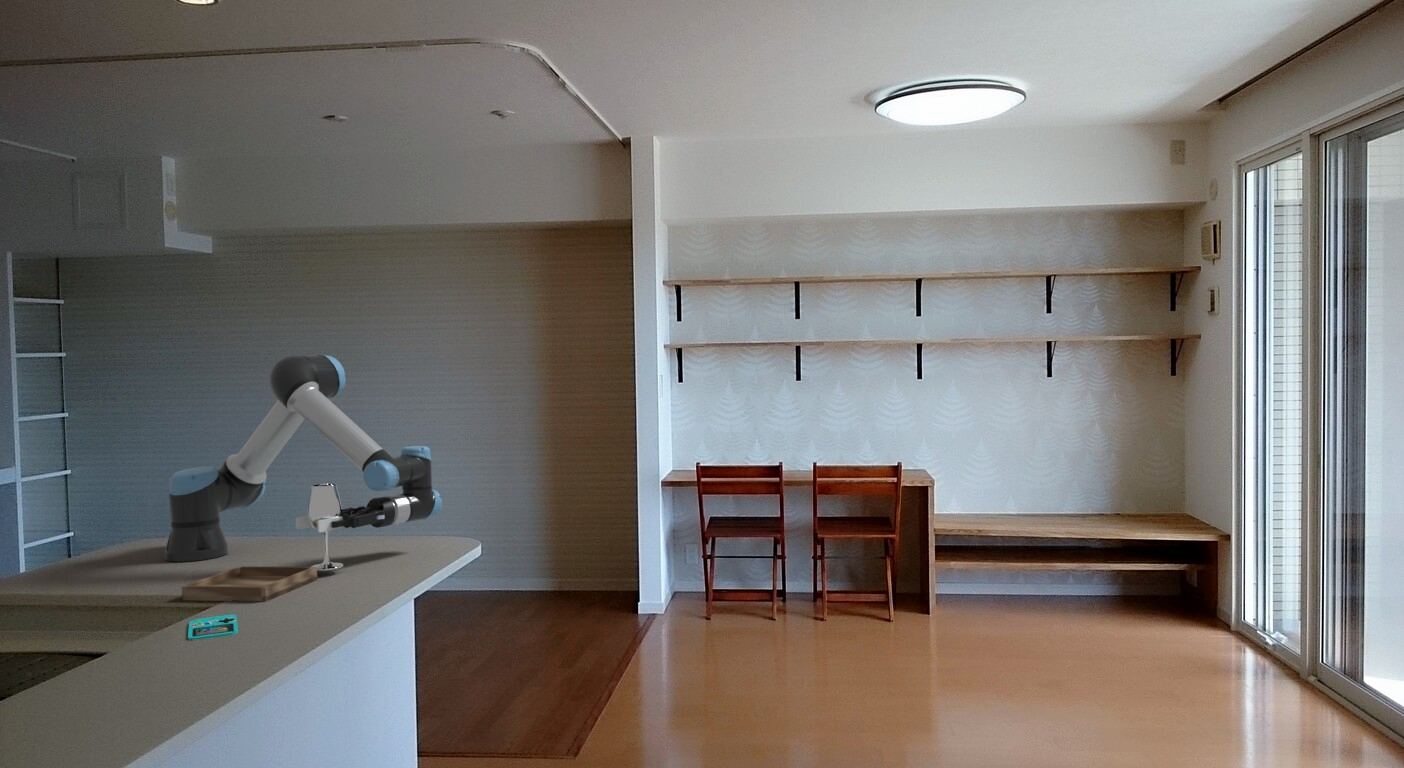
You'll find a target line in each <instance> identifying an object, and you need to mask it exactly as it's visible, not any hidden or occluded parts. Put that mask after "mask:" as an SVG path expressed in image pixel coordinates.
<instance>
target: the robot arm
mask: <svg viewBox="0 0 1404 768" xmlns="http://www.w3.org/2000/svg"><path fill="white" fill-rule="evenodd" d="M344 369H345V368H344V367H343V365H342V364H341V362H340V361H339V360H338V359H336V357H333V356H331V355H325V354H315V355H309V354H307V355H294V354H293V355H288V356H284V357H283V358H281V359H279V360H278V361H277V362H276V363H275V364H274V365H273V366H272V368H271V370H270V374H269V379H268V380H269V382H268V383H269V387H270V389H271V391H272V393H273V395H274V396H275V397H276V399H277V401H276V402H275V403H274V404H273V406H272V407H271V409H270V410H269V411H268V413H267V414H266V415H265V417H264V418H263V420H262V421H261V422H260V424H259V425H258V426H257V427H256V429H255V430H254V432H253V433H252V434H251V435H250V437H249V438H248V440H247V441H246V442H245V443H244V445H243V447H242V448H241V449H240V450H239V452H238V453H235V454H230V455H229V456H228V457H227V459H225V461H224V463H223V464H222V465H221V467H219V468H218V469H217V467H215V466H211V465H210V466H208V465H207V466H206V465H205V466H197V467H190V468H186V469H182V470H178V471H176V472H174V473H173V474H172V475H171V476H170V477H169V486H168V494H169V496H168V497H169V511H170V512H169V513H170V533H169V537H168V540H167V543H166V546H165V547H166V548H165V550H164V560H165V561H167V562H177V563H178V562H194V561H202V560H210V559H215V558H220V557H223V556H226V555H228V553H229V544H228V542H227V540H226V537H225V534H224V532H223V530H222V527H221V522H220V521H221V520H220V519H221V518H220V513H222V512H227V511H231V510H233V511H234V510H237V509H243V508H246V507H249V506H251V505H254V504H255V503H257V502H258V501H259V500H260V499H261V498H262V496H263V495H264V493H265V490H266V486H265V484H266V482H267V477H268V476H267V469H269V467H270V466H271V464H272V463H273V461H274V460H275V459H276V457H277V456H278V455H279V454H280V452H282V449H283V448H284V447H285V446H286V444H287V443H288V442H289V440H290V439H291V437H292V436H293V435H294V433H295V432H296V431H297V429H298V428H299V427H300V425H301V424H303V422H304V420H305V421H306V422H308V423H309V424H310V425H311V426H312V427H313V428H314V429H315V430H316V431H317V432H319V433H320V434H321V435H322V436H323V437H324V438H326V440H327V441H328V442H330V443H331V445H332V446H334V447H335V448H336V449H337V450H338V451H340V452H341V453H342V454H343V455H344V457H346V458H347V459H348V460H350V462H352V463H353V464H354V465H355V466H356V467H357V468H358V469H359V470H360V471H362V473H363V475H362V477H363V481H364V482H365V486H366V487H368V489H370V490H372V491H375V492H381V491H389V490H392V489H395V488H399V487H400V488H402V493H396V494H391V495H386V496H381V497H374V498H372V499H370V500H369V501H368V502H367V505H366V506H364V505H362V506H358V507H351V506H350V507H347V508H342V517H336V518H330V519H324V520H318V521H317V530H316V533H322V532H325V531H329V532H331V531H335V530H339V529H340V530H341V529H344V528H345V529H348V528H351V529H356V528H360V527H364V526H368V525H371V526H372V527H374V528H376V529H377V528H378V529H379V528H384V527H388V526H395V527H398V526H399V525H400V524H403V523H404V524H405V523H408V522H416V521H420V520H427V519H429V518H434V517H436V516H437V515H438V514H440V512H441V511H442V507H443V499H442V498H441V494H440V493H439V492H438V490H436V489H435V488H434V489H433V486H432V485H433V484H432V483H433V482H432V478H433V477H432V476H433V475H432V456H431V449H430V448H429V447H428V446H427V445H411V446H404V447H402V448H401V451H400V454H399V455H400V456H396V457H393V456H392V455H391V454H390V453H389V452H387V451H386V450H385V449H384V448H382V447H381V446H380V445H379V444H378V443H377V441H375V440H374V439H372V437H370V436H369V434H367V433H366V432H365V431H364V430H363V429H362V428H361V427H359V426H358V425H357V424H356V423H355V422H354V421H353V419H351V418H350V417H348V415H347V414H346V413H344V412H343V411H342V410H341V409H339V407H338V406H336V405H335V404H334V403H333V402H332V401H331V400H330V399H331V398H334V397H335V398H336V396H338V395H340V394H341V393H342V391H343V390H344V388H345V385H346V381H347V380H346V375H345V374H346V373H345V370H344ZM329 398H330V399H329ZM308 528H313V527H312V526H311V524H310V523H309V520H308V515H305V516H298V517H295V530H302V529H308ZM330 530H331V531H330Z"/></svg>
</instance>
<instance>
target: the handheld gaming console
mask: <svg viewBox="0 0 1404 768" xmlns="http://www.w3.org/2000/svg"><path fill="white" fill-rule="evenodd" d="M226 626H229V628H230V630H227V627H226ZM217 627H220V628H222V629H219V630H218V632H212V633H210V632H211V631H213V630H212V628H217ZM224 627H225V628H224ZM203 629H205V630H208V631H207V632H206V633H204V634H197V631H196V630H200V631H203ZM222 630H225V631H222ZM226 630H227V631H226ZM187 631H188V633H187V634H188V636H187V639H188V638H189V639H199V640H203V639H202V638H206V639H211V637H213V638H218V637H217V636H220V637H225V636H226V637H227V636H234V635H236V633H237V634H239V628H238V620H237V615H236V614H226V615H217V616H211V617H202V618H197V619H194V620H190V621H189V622H188V630H187ZM207 633H209V634H207Z"/></svg>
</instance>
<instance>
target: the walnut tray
mask: <svg viewBox="0 0 1404 768" xmlns="http://www.w3.org/2000/svg"><path fill="white" fill-rule="evenodd" d="M317 580H318V571H317V567H311V566H249V565H248V566H246V565H244V566H243V565H242V566H240V565H239V566H237V567H234V568H231V569H228V570H225V571H223V572H220V573H216V574H213V575H210V576H208V577H206V578H201V579H200V580H197V581H193V582H191V583H188V584H185V585H181V600H182V601H211V602H213V601H216V602H218V601H220V602H221V601H222V602H224V601H225V602H229V601H230V602H233V601H232V600H253V601H252V602H267V600H268V601H270V600H272V599H275V598H278V597H279V596H282V595H284V593H285V594H287V593H289V592H291V591H294V590H296V589H299V588H301V587H303V585H304V586H306V585H308V584H311V583H312V582H315V581H317Z"/></svg>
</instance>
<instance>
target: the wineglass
mask: <svg viewBox="0 0 1404 768" xmlns="http://www.w3.org/2000/svg"><path fill="white" fill-rule="evenodd" d="M342 509H343V507H342V501H341V497H340V494H339V489H338V485H337V484H336V483H332V482H331V483H328V482H327V483H317V484H312V485H311V488H310V493H309V499H308V505H307V516H308V520H309V523H310V524H311V526H312V527H311V528H313V529H315V530H316V531H317V521H318V520H324V519H330V518H336V517H342ZM331 531H332V530H330V531H325V532H321V533H322V535H323V540H324V559H323V561H322V562H321V563H318V564H317V563H316V564H313V565H311V566H310V567H317V572H318V571H320V572H321V571H322V572H324V571H332V570H337V569H340V568H343V567H344V563H341V562H332V561H331V560H330V559H329V549H328V546H329V545H328V540H329V538H328V537H329V533H330V532H331Z"/></svg>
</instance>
